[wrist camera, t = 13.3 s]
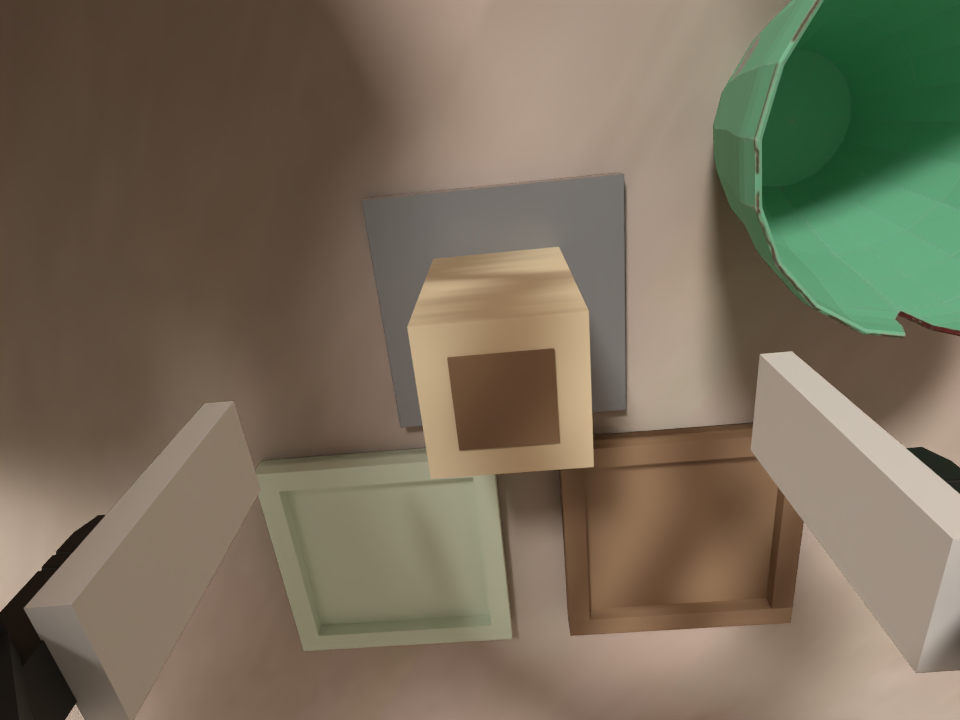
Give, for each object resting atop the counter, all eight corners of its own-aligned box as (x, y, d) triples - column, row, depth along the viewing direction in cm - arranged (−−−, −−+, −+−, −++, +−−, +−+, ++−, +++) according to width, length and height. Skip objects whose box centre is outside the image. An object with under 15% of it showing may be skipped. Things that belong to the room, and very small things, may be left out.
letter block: (448, 375, 26) (431, 484, 19) (433, 258, 24) (406, 328, 17) (565, 366, 26) (594, 473, 18) (559, 246, 24) (589, 311, 16)
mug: (726, 299, 25) (862, 412, 16) (597, 94, 22) (672, 87, 13) (1097, 60, 21) (1551, 29, 12) (1001, -223, 19) (1503, -544, 9)
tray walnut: (568, 617, 32) (570, 635, 31) (557, 437, 28) (560, 451, 27) (779, 604, 32) (790, 622, 30) (802, 418, 27) (815, 432, 26)
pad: (402, 421, 28) (400, 427, 27) (364, 198, 24) (361, 200, 23) (622, 403, 27) (625, 409, 27) (620, 172, 23) (623, 174, 23)
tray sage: (309, 632, 33) (303, 651, 32) (261, 460, 29) (252, 475, 28) (511, 620, 32) (512, 639, 31) (492, 442, 28) (492, 456, 27)
